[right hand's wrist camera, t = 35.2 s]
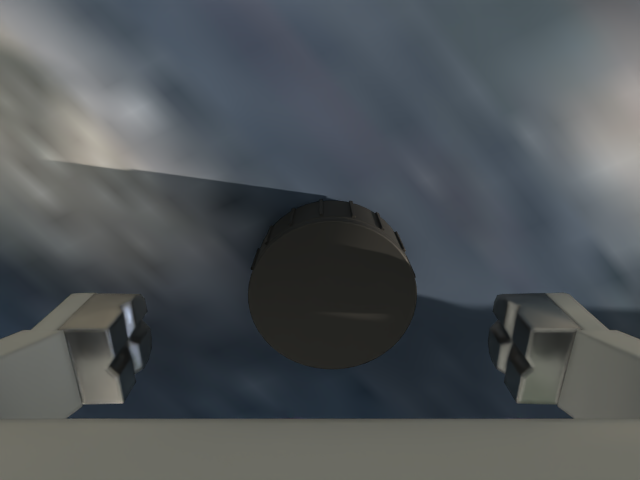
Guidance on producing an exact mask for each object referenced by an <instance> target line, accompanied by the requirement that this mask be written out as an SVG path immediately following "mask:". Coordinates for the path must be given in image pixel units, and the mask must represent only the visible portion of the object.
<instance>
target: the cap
mask: <svg viewBox="0 0 640 480" xmlns="http://www.w3.org/2000/svg"><path fill="white" fill-rule="evenodd" d="M405 251H406V250H405V248H404V246H403V244H402V241H401V239H400V237H399V235H398V233H397V232H394V231H393V230H392V228H391V227H390V226H389V225H388V224H387V223H386V222H385V221H384V220H383V219H382V218H381V217H380V215H379V213H377V212H376V213H374V212H372V211H370V210H369V209H367V208H364V207H362V206H360V205H357V204H353V202H352V201H349V202H344V201H323V199H321V200H320V201H319V202H314V203H310V204H307V205H304V206H301V207H299V208H297V209H295V208H293V209H292V210H291V212H289V213H288V214H286V215H285V216H284V217H282V218H281V219H280V220H279V221H278V222H277V223H276V224H275V225H274V226H272V225H271V226H270V228H269V231H268V234H267V235H266V237H265V239H264V241H263V243H262V246H261V248H260V249H259V248H258V250H257V253H256V255H255V258H254V261H253V264H252V267H251V270H253V271H252V274H251V278H250V282H249V289H248V302H249V308H250V313H251V316H252V319H253V321H254V324H255V325H256V327H257V329H258V331H259V332H260V334H261V335H262V337H263V338H264V339H265V340H266V341H267V342H268V344H269V345H270V346H271V347H273V348H274V349H275V350H276V351H277V352H279V353H280V354H282V355H283V356H285V357H287V358H288V359H291V360H293V361H295V362H297V363H300V364H303V365H306V366H310V367H314V368H321V369H342V368H349V367H354V366H358V365H361V364H364V363H367V362H369V361H371V360H373V359H375V358H377V357H379V356H380V355H382V354H384V353H385V352H386V351H388V350H389V349H390V348H392V347H393V346H394V345H395V344H396V343H397V342H398V341H399V339H400V338H401V337H402V336H403V334H404V333H405V331H406V330H407V328H408V326H409V325H410V322H411V320H412V317H413V315H414V311H415V307H416V300H417V287H416V281H415V273H414V271H413V269H412V267H411V265H410V262H409V260H408V258H407V256H406V254H405Z"/></svg>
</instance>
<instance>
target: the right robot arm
mask: <svg viewBox="0 0 640 480" xmlns="http://www.w3.org/2000/svg"><path fill="white" fill-rule="evenodd" d="M146 313H147V307H146V302H145V298H144V297H143V296H142V295H141V294H111V293H98V294H97V293H75V294H71V295H70V296H69V297H67V298H66V299H65V300H64V301H63V302H62V303H61V304H60V305H58V306H57V307H56V308H55V309H54V310H53V311H52V312H51V313H49V314H48V315H47V316H46V317H45V318H44V319H43V320H41V321H40V322H39V323H38V324H37V325H36V326H35V327H34V328H32V329H31V330H22V331H20V332H17V333H15V334H12V335H10V336H7V337H5V338H2V339H0V480H640V339H638V338H635V337H633V336H630V335H628V334H625V333H623V332H620V331H618V330H609V329H608V328H606V327H605V326H604V325H603V324H602V323H601V322H600V321H599V320H597V319H596V318H595V317H594V316H593V315H592V314H591V313H590V312H588V311H587V310H586V309H585V308H584V307H583V306H582V305H581V304H579V303H578V302H577V301H576V300H575V299H574V298H573V297H572V296H570V295H569V294H566V293H529V294H501V295H497V297H496V299H495V301H494V306H493V313H494V315H495V316H496V318H497V319H498V320H497V321H496V322H495V323H494V324H493V325H492V326H491V327H490V329H489V337H488V346H489V354H490V357H491V360H492V362H493V364H494V366H495V368H496V369H498V370H499V371H501V372H503V373H504V374H505V379H504V383H505V385H506V386H507V388H508V390H509V391H510V393H511V395H512V396H513V398H514V400H515V401H516V403H520V404H557V405H558V407H559V408H560V409H562V410H563V411H565V412H566V413H567V414H569V415H570V416H571V417H573V418H574V419H66V418H67V417H69V416H70V415H72V414H73V413H74V412H76V411H77V410H78V409H80V408H81V407H82V405H83V404H119V403H124V401H125V400H126V398H127V396H128V395H129V393H130V391H131V390H132V388H133V386H134V385H135V383H136V379H135V374H136V373H137V372H139V371H141V370H142V369H144V368H145V366H146V364H147V362H148V360H149V357H150V353H151V348H152V336H151V329H150V327H149V326H148V325H147V324H146V323H145V322H144V321H143V320H142V319H143V318H144V316H145V315H146Z"/></svg>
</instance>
